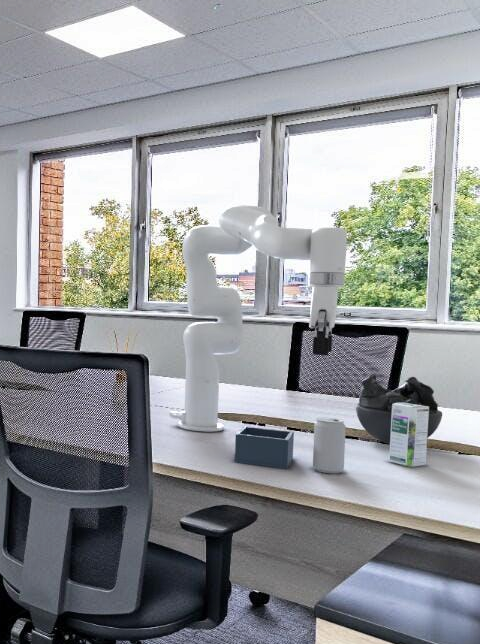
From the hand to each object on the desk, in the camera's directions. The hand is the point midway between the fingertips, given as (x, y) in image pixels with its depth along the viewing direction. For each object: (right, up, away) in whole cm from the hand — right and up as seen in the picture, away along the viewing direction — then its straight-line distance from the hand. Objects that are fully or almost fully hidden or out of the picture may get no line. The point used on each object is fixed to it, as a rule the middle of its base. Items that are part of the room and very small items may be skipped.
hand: (322, 353), depth 165 cm
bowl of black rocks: (+33, -26, +25) cm, 49 cm away
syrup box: (+23, -27, +4) cm, 36 cm away
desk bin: (-12, -26, +5) cm, 29 cm away
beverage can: (-1, -27, -4) cm, 28 cm away
